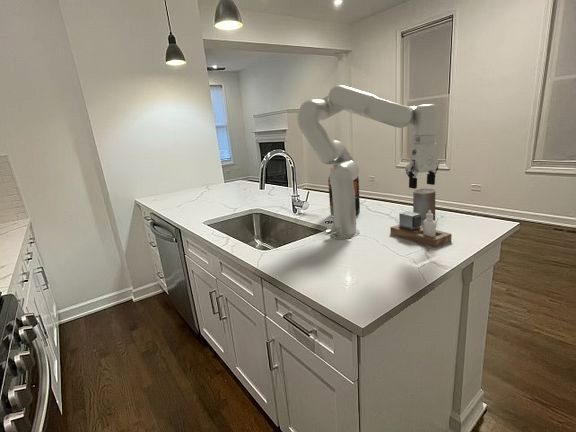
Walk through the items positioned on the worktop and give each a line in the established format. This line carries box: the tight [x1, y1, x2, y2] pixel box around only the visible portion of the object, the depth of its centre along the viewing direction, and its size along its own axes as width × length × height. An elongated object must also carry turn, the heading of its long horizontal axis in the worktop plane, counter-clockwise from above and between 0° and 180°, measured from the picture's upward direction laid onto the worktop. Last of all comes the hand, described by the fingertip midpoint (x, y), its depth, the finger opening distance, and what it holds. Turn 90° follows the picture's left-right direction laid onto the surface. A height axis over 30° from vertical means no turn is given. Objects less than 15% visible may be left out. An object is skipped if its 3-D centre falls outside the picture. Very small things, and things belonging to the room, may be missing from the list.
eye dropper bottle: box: [422, 210, 437, 237], centre depth 120 cm, size 4×6×12 cm
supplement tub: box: [327, 166, 361, 217], centre depth 167 cm, size 16×16×26 cm
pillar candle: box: [412, 187, 436, 221], centre depth 149 cm, size 10×10×15 cm
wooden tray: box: [390, 224, 453, 249], centre depth 125 cm, size 10×21×4 cm, turn 29°
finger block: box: [398, 210, 422, 231], centre depth 128 cm, size 4×7×9 cm, turn 29°
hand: (421, 186), depth 120 cm, fingers open, 9 cm apart
